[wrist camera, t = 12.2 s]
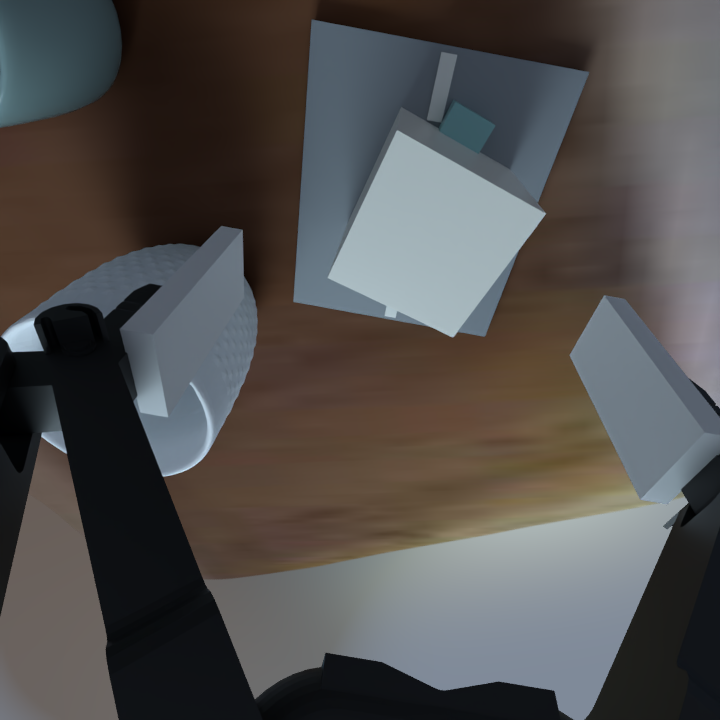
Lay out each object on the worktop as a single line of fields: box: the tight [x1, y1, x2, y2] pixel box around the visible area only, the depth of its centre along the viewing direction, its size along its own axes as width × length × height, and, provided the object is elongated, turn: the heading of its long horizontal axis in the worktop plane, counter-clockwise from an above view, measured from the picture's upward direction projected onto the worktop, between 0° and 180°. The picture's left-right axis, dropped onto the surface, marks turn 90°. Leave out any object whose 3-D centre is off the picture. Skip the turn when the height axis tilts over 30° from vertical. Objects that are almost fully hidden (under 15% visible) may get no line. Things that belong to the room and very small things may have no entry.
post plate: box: [294, 20, 589, 337], centre depth 24 cm, size 16×14×7 cm
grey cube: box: [328, 99, 546, 337], centre depth 22 cm, size 7×10×8 cm
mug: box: [1, 243, 258, 476], centre depth 28 cm, size 15×11×13 cm
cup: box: [0, 0, 122, 128], centre depth 19 cm, size 8×8×10 cm
